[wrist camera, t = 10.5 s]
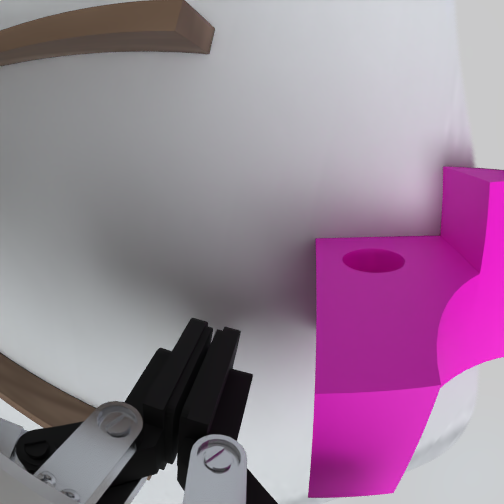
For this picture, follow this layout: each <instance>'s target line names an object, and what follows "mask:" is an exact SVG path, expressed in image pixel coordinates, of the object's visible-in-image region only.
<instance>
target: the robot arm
mask: <svg viewBox="0 0 504 504" xmlns="http://www.w3.org/2000/svg"><path fill="white" fill-rule="evenodd" d="M212 332H213V328H211V327H208V322H205V321H202V320H198V319H195V318H191V320H190V321H189V323H188V325H187V326H186V328H185V330H184V331H183V333H182V335H181V337H180V338H179V340H178V342H177V344H176V345H175V347H174V349H173V351H169V350H166V349H163V348H159V349H158V350H157V351H156V353H155V354H154V356H153V358H152V359H151V361H150V362H149V364H148V366H147V367H146V369H145V370H144V372H143V374H142V375H141V377H140V378H139V380H138V382H137V383H136V385H135V386H134V388H133V390H132V391H131V393H130V394H129V396H128V398H127V399H126V401H125V402H118V401H113V402H107V403H104V404H102V405H100V406H99V407H98V408H96V409H95V410H94V411H93V413H92V414H91V415H90V416H89V417H88V418H87V419H86V420H85V421H82V422H77V423H72V424H66V425H61V426H55V427H49V428H43V429H36V430H32V431H26V430H24V429H23V427H22V426H19V425H17V424H14V423H12V422H9V421H7V420H4V419H2V418H0V504H130V503H131V502H132V500H133V499H134V497H135V496H136V495H137V493H138V492H139V490H140V489H141V487H142V486H143V485H144V483H145V482H146V480H147V477H148V476H151V475H154V474H157V473H158V470H159V469H162V470H164V469H165V466H166V464H167V463H170V464H173V462H174V460H175V458H176V455H177V453H178V456H177V466H178V474H177V481H178V482H179V484H180V485H181V487H182V488H183V490H184V491H185V492H184V499H183V504H278V503H277V502H276V501H275V500H274V499H273V498H272V497H271V495H270V494H269V493H268V492H267V491H266V490H265V489H264V487H263V486H262V485H261V484H260V483H259V482H258V480H257V479H256V478H255V477H254V476H253V475H252V473H251V472H250V471H249V470H248V469H247V456H246V452H245V450H244V448H243V446H242V445H241V444H240V443H238V442H237V438H238V434H239V430H240V426H241V422H242V418H243V414H244V410H245V406H246V402H247V398H248V393H249V389H250V385H251V381H252V377H253V374H250V373H246V372H242V371H238V370H234V369H232V368H233V364H234V360H235V355H236V351H237V346H238V342H239V337H240V332H241V331H239V330H235V329H231V328H228V327H224V329H223V331H222V330H218V329H217V331H216V333H215V336H214V338H213V340H212V342H211V339H212Z"/></svg>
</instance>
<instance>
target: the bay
mask: <svg viewBox="0 0 504 504" xmlns="http://www.w3.org/2000/svg"><path fill="white" fill-rule="evenodd" d="M214 31H215V28H214V27H213V26H212V25H211V24H210V23H208V22H207V21H206V20H205V19H204V18H203V17H202V16H201V15H200V14H199V13H198V12H197V11H196V10H195V9H194V8H192V7H191V6H190V5H189V4H188V3H187V2H186V1H185V0H150V1H137V2H127V3H118V4H110V5H103V6H97V7H91V8H85V9H79V10H74V11H69V12H65V13H60V14H56V15H52V16H48V17H44V18H40V19H36V20H33V21H29V22H26V23H22V24H19V25H16V26H13V27H10V28H7V29H4V30H1V31H0V66H4V65H9V64H14V63H19V62H24V61H30V60H36V59H43V58H50V57H58V56H66V55H76V54H87V53H102V52H126V51H161V52H186V53H201V54H209V52H210V48H211V44H212V39H213V35H214ZM0 398H1V399H2V400H4V401H5V402H6V403H8V404H9V405H11V406H12V407H13V408H15V409H16V410H18V411H19V412H20V413H22V414H23V415H25V416H26V417H28V418H29V419H31V420H32V421H34V422H35V423H37V424H38V425H40V426H42V427H43V428H49V427H55V426H61V425H66V424H72V423H77V422H82V421H85V420H86V419H87V418H88V417H89V416H90V415H91V414H92V413H93V411H94V410H95V409H96V408H94V407H92V406H90V405H88V404H86V403H84V402H82V401H80V400H78V399H76V398H74V397H72V396H70V395H68V394H66V393H65V392H63V391H61V390H59V389H57V388H56V387H54V386H52V385H50V384H48V383H47V382H45V381H43V380H42V379H40V378H38V377H37V376H35V375H33V374H32V373H30V372H28V371H27V370H25V369H24V368H22V367H21V366H19V365H17V364H16V363H14V362H13V361H11V360H10V359H8V358H7V357H5V356H4V355H2V354H1V353H0ZM151 476H152V475H151ZM151 476H148V477H147V480H150V478H151Z"/></svg>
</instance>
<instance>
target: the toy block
mask: <svg viewBox="0 0 504 504" xmlns="http://www.w3.org/2000/svg"><path fill="white" fill-rule="evenodd" d="M316 289H317V321H316V373H315V400H314V422H313V439H312V455H311V468H310V481H309V492H308V498H330V497H355V496H368V495H380V494H388V493H394V491H395V489H396V487H397V485H398V483H399V481H400V480H401V477H402V476H403V474H404V472H405V470H406V468H407V466H408V464H409V462H410V460H411V458H412V456H413V453H414V451H415V449H416V447H417V445H418V442H419V440H420V438H421V436H422V433H423V431H424V429H425V426H426V424H427V421H428V419H429V416H430V414H431V411H432V409H433V406H434V403H435V401H436V398H437V395H438V392H439V389H440V388H441V387H442V386H443V385H444V384H445V383H447V382H448V381H450V380H451V379H452V378H454V377H455V376H457V375H458V374H460V373H462V372H463V371H465V370H467V369H469V368H471V367H473V366H475V365H478V364H481V363H483V362H486V361H489V360H493V359H496V358H501V357H504V170H499V169H486V168H465V167H445V166H443V200H442V219H441V233H440V236H395V237H353V238H316Z"/></svg>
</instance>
